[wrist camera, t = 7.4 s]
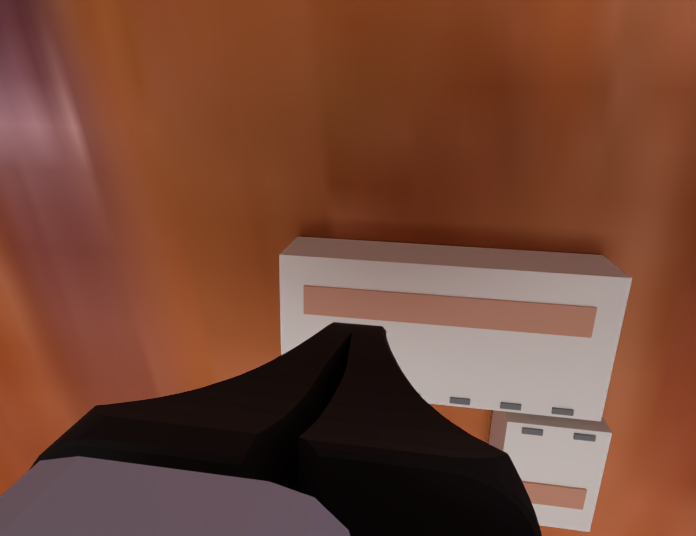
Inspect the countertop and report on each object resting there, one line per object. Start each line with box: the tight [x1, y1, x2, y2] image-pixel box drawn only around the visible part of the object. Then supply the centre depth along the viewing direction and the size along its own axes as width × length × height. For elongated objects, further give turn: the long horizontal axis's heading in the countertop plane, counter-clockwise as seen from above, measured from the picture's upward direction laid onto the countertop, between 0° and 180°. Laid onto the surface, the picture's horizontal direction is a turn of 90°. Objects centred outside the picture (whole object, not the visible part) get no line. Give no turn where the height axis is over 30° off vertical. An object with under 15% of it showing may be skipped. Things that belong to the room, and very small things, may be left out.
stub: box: [488, 410, 612, 532], centre depth 21 cm, size 4×5×3 cm
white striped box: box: [279, 236, 632, 421], centre depth 20 cm, size 13×6×3 cm, turn 89°
